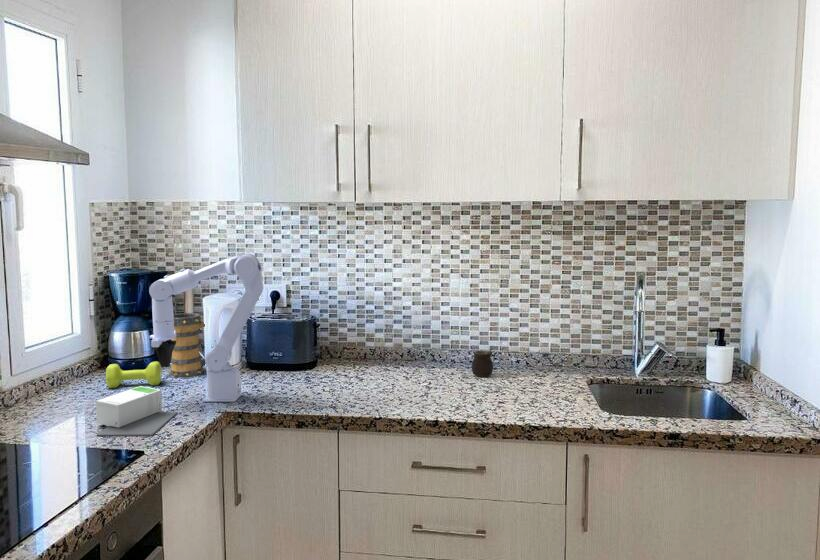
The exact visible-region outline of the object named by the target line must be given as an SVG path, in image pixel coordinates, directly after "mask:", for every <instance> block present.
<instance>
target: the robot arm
mask: <svg viewBox="0 0 820 560" xmlns="http://www.w3.org/2000/svg"><path fill="white" fill-rule="evenodd" d="M221 274H228V275H234V274H236V276H237V277H238V278H239V279H240V280H241V283H242V284H243V287H244V290H245V291H244V293H243V294H242V296H241V298H240V300H239V302H238V304H237V306H236V307H235V309H234V312H233V313H232V315H231V317H230V319H229V320H228V323H227V324H226V326H225V328H224V329H223V332H222V333H221V336H220V337H219V338H218V341H217V342H216V345H215V346H213V347H212V346H211V348H212V349H210V351H209V352H208V353H207V354H206V356H205V358H204V360H205V364H206V365H205V366H206V368H205V370H206V384H207V387H206V388H207V396H206V397H204V399H203V400H202V401H203V402H204V403H206V402H207V403H210V402H212V403H213V402H216V403H217V402H220V403H221V402H227V403H228V402H229V403H230V402H236V401H237V400H238V399H239V398H240V397H241V396H242V394H243V392H242V379H241V375H242V374H241V371H240V369H238V368H233V366H232V365H231V363H230V361H231V358H232V350H233V347H234V345H235V344H236V341H237V339H238V338H239V336H240V334H241V332H242V331H243V329H244V326H245V325H246V323H247V321H248V320H249V318H250V315H251V314H252V312H253V310H254V309H255V306H256V304H257V303H258V301H259V298H260V297H261V295H262V293H263V291H264V282H263V280H264V279H263V268H262V265H261V263H260V261H259V259H258V258H257V256H255V255H254V254H252V253H245V254H242V255H241V256H240V255H237V256H232V257H228V258H225V259H222V260H219V261H218V262H215V263H213V264H209V265H207V266H205V267H203V268H200V269H198V270H196V271H195V270H192V269H191V268H190V269H189V268H187V269H185V268H182V269H179V272H177V273H174V274H171V275H168V274H167V275H165V276H163V278H160V279H158V280H156V281H154V282H153V283H151V285H150V286H149V288H148V289H149V290H148V292H149V295H150V298H151V304H152V305H151V308H152V310H151V312H152V314H151V315H152V327H153V328H152V330H153V331H152V332H153V334H151V335H149V339H152V340H150V344H151V347H150V348H153V349H154V352H155V353H156V356H157V357H158V360H159V361H158V362H159V363H160V365H161V368H163V367H164V368H169V367H170V365H171V358H172V352H173V349H174V347H175V345H176V341H171V339H173V338H175V337H176V331H174V318H173V314H174V304H173V295H174V296H176V295H180V294H182V293H184V292H187V291H190V290H192V289H195V288H197V286H198V284H199V282H201V281H203V280H206V279H209V278H213V277H215V276H218V275H221Z"/></svg>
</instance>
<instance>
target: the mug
mask: <svg viewBox="0 0 820 560" xmlns="http://www.w3.org/2000/svg"><path fill="white" fill-rule="evenodd" d="M173 318H174V331H176V337H175V338H173V339H171V341H176V345H175V347H174V349H173V352H172V357H171V362H170V364H171V368H170V370H169V371H168V372H167V373H168V374H169V375H170V376H171V377H173V378H179V379H180V378H193V377H196V376H201V375H202V374H204V371H205V370H206V368H205V367H204V366H206V365H205V359H204V360H202V359H203V356H202V355H200V353H201V352H200V347H201V343H200V340H199V339H200V336H199V335H200V333H201V332H202V331H201V329H202V328H205V324H204V321H201V320H203V319H204V317H202V316H201V314H200V313H197V312H183V313H181V312H180V313H179V312H178V313H173Z"/></svg>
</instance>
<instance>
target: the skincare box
mask: <svg viewBox="0 0 820 560" xmlns="http://www.w3.org/2000/svg"><path fill="white" fill-rule="evenodd" d="M162 393H163V392H162V389H159V388H153V387H148V386H144V385H143V386H142V385H139V386H136V387H133V388H131V389H128V390H124V391H122V392H119V393H115V394H112V395H110V396H107V397H103V398H101V399H98V400H95V406H96V407H95V408H96V409H95V410H96V423H97V424H98V425H99V424H100V425H104V426H106V427H108V426H112V427H117V428H119V427H122V426H124V425H127V424H129V423H132V422H134V421H137V420H139V419H142V418H144V417H147V416H150V415H152V414H155V413H157V412H163V411H162V410H163V404H162V403H163V399H162V397H163V396H162Z"/></svg>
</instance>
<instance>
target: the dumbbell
mask: <svg viewBox="0 0 820 560" xmlns="http://www.w3.org/2000/svg"><path fill="white" fill-rule="evenodd" d="M162 372H163V371H162V367H161V364H160V361H157V360H156V361H152V362H150V363H149V364H148V365H147V366H146V368H145V369H132V370H131V369H130V370H123V369H121V367H120V365H119V364H118V363H111V364H109V365H108V366H107V367H106V369H105V381H106V385H107V387H108V388H109V389H115V388H118V387H119V386H120V384H121V382H123V381H131V380H132V381H133V380H146V381H147V383H148V384H149V385H150V386H158V385H160V384H161V382H162Z"/></svg>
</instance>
